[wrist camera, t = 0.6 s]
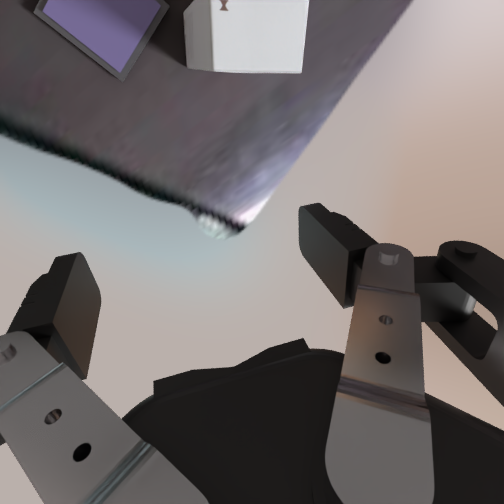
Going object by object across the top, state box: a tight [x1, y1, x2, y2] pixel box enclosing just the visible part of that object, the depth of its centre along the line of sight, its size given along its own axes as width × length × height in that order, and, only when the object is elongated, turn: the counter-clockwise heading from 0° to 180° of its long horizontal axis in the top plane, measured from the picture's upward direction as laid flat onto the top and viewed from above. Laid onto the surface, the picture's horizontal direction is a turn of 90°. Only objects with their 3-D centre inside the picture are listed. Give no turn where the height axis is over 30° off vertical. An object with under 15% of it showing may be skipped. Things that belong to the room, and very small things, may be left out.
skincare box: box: [183, 0, 309, 73], centre depth 23 cm, size 6×4×12 cm
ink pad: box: [33, 0, 170, 82], centre depth 25 cm, size 7×7×1 cm
